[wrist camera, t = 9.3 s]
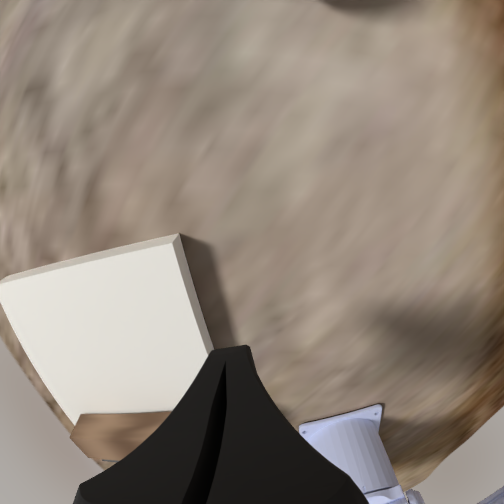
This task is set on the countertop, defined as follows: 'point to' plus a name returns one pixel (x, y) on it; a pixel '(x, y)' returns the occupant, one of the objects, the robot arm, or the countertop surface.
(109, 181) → the countertop surface
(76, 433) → the folding leg
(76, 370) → the stool seat
